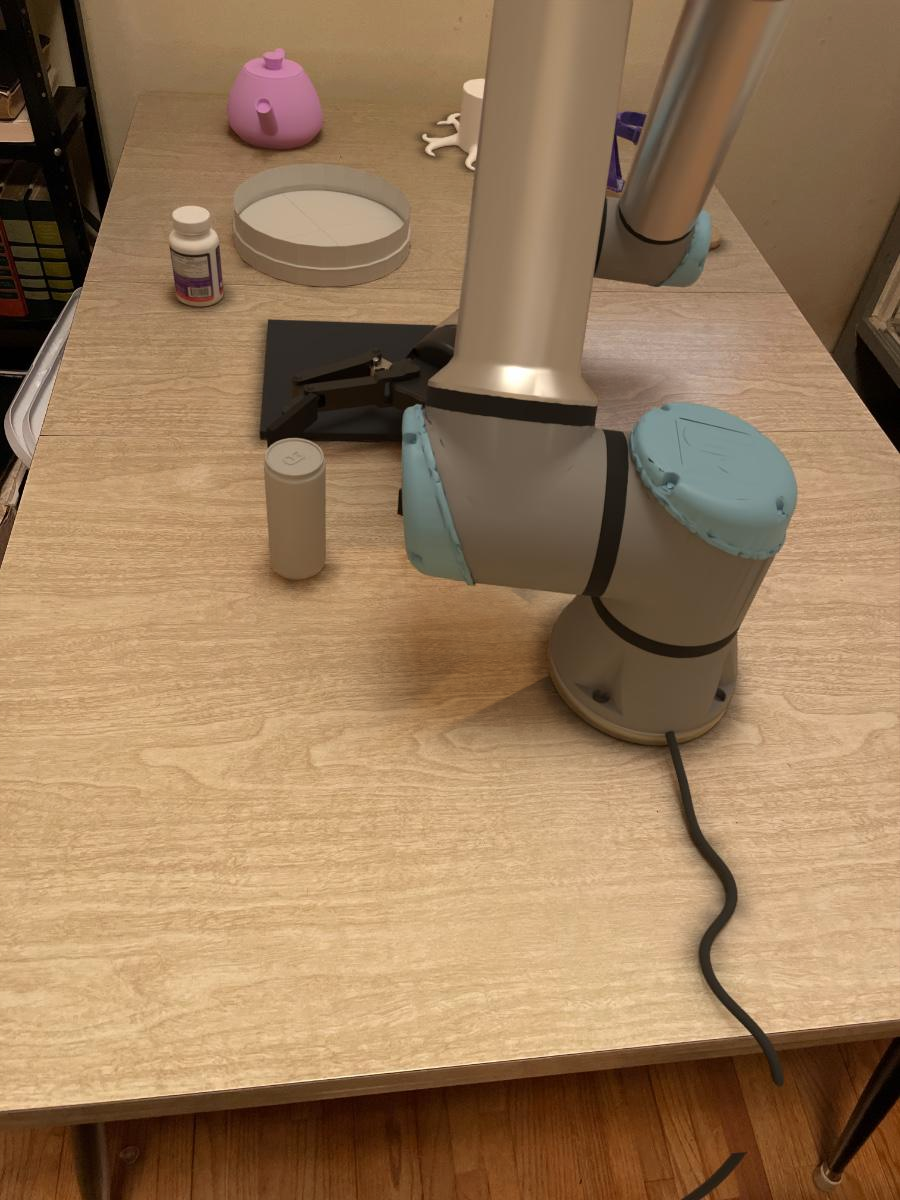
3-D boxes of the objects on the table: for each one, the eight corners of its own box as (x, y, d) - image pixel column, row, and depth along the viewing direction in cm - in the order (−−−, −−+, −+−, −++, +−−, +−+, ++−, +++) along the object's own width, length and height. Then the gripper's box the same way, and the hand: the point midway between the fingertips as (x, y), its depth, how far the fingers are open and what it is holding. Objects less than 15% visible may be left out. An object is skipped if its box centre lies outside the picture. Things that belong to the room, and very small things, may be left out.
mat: (461, 443, 97) (462, 435, 96) (260, 439, 95) (259, 431, 94) (445, 332, 110) (446, 325, 110) (268, 326, 108) (267, 318, 107)
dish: (443, 263, 121) (447, 225, 117) (285, 303, 111) (284, 263, 108) (353, 188, 132) (354, 151, 129) (203, 219, 123) (200, 180, 119)
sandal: (719, 262, 128) (755, 147, 117) (572, 234, 129) (595, 119, 118) (719, 234, 134) (755, 122, 122) (579, 208, 135) (601, 95, 124)
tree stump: (573, 152, 147) (583, 97, 141) (488, 185, 137) (496, 127, 131) (477, 107, 155) (483, 53, 150) (391, 135, 145) (393, 78, 139)
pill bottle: (197, 278, 113) (188, 197, 106) (233, 293, 112) (227, 212, 105) (165, 297, 110) (154, 215, 103) (203, 313, 108) (194, 231, 101)
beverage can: (337, 565, 84) (338, 458, 75) (295, 592, 81) (291, 485, 73) (300, 536, 86) (297, 428, 77) (258, 561, 83) (250, 453, 75)
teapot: (216, 159, 134) (210, 78, 127) (238, 103, 148) (233, 26, 140) (316, 168, 135) (315, 88, 127) (328, 112, 149) (328, 36, 141)
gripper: (563, 437, 95) (455, 563, 82) (352, 347, 102) (222, 450, 89) (577, 373, 89) (464, 497, 76) (354, 282, 96) (215, 382, 83)
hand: (334, 472), depth 82 cm, fingers open, 13 cm apart
